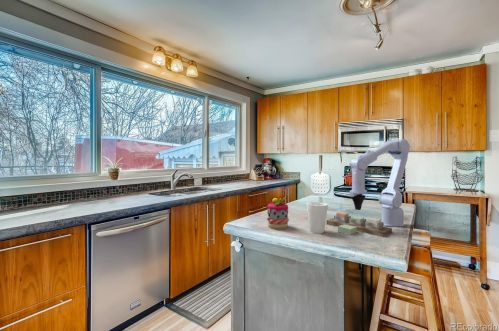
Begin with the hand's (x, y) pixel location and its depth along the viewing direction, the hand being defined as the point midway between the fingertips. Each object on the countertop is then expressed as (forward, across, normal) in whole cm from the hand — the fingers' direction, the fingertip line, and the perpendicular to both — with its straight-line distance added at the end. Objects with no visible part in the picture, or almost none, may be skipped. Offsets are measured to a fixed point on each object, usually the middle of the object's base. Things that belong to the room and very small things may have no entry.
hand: (358, 209), depth 125 cm
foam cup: (+9, +21, -10) cm, 25 cm away
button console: (+9, +1, 0) cm, 9 cm away
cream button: (+6, +1, +8) cm, 10 cm away
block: (+9, +11, 0) cm, 14 cm away
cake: (+9, +29, -27) cm, 41 cm away
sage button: (+7, +1, 0) cm, 7 cm away
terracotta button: (+6, +1, -8) cm, 10 cm away
